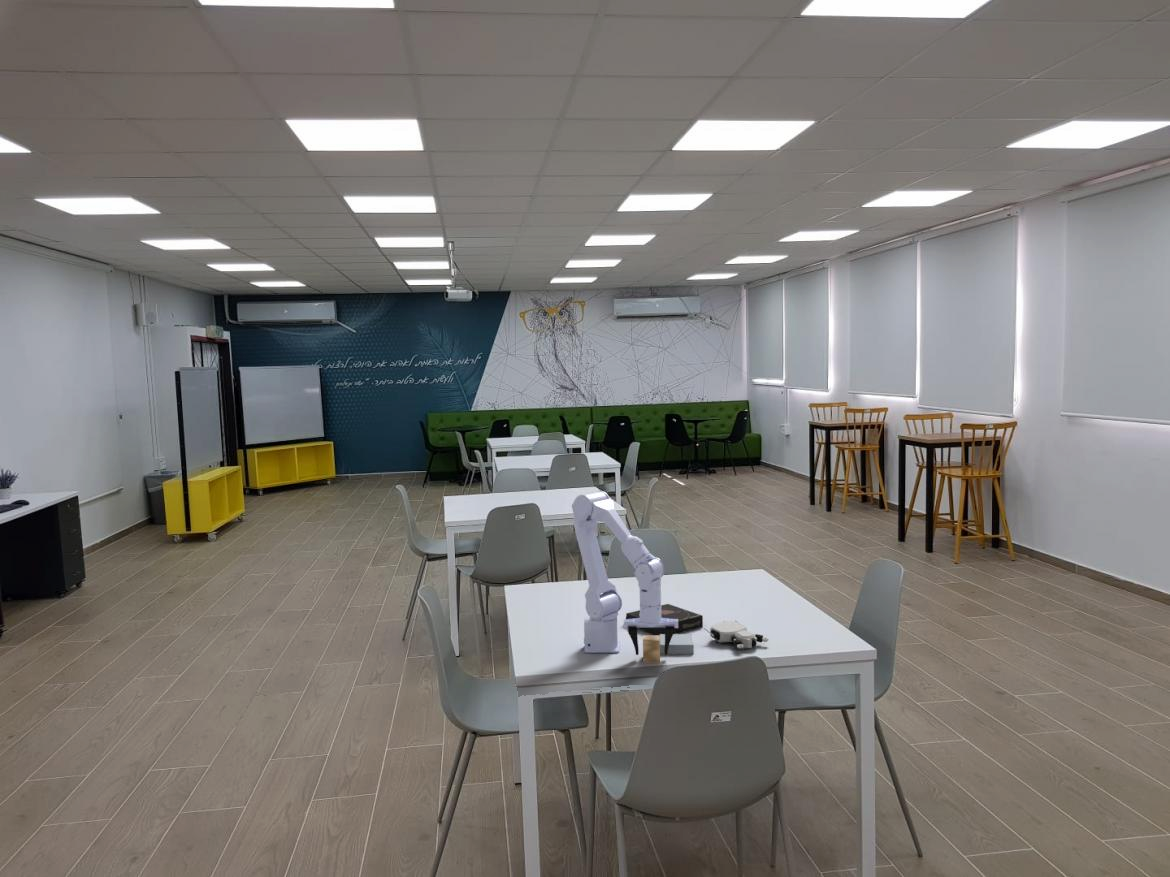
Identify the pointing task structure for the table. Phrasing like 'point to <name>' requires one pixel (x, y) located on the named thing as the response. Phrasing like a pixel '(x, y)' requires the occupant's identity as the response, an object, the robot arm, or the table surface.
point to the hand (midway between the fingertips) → (651, 653)
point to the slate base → (678, 644)
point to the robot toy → (735, 634)
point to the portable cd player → (684, 617)
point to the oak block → (651, 649)
